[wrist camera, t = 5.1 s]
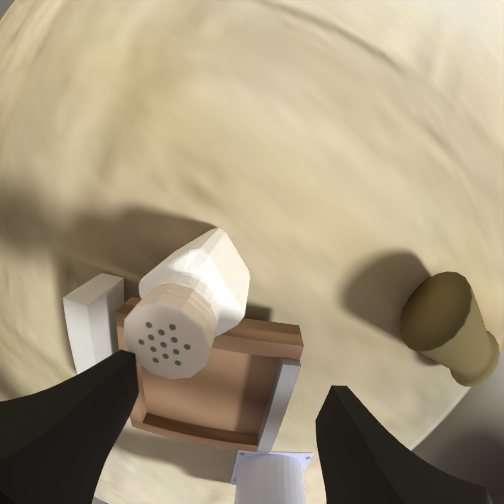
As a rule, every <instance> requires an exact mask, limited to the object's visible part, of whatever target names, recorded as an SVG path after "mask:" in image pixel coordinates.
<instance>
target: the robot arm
mask: <svg viewBox="0 0 504 504" xmlns="http://www.w3.org/2000/svg"><path fill="white" fill-rule="evenodd" d="M138 394H139V386H138V377H137V367H136V355H135V353H132V352H128V351H125V350H122V349H121V350H119V351H117V352H115V353H114V354H112V355H110V356H109V357H107V358H105V359H104V360H102V361H100V362H99V363H97V364H95V365H94V366H92V367H90V368H89V369H87V370H85V371H83V372H82V373H80V374H78V375H76V376H74V377H72V378H70V379H68V380H66V381H64V382H62V383H60V384H58V385H56V386H53V387H51V388H48V389H46V390H43V391H40V392H38V393H35V394H32V395H28V396H24V397H20V398H16V399H12V400H7V401H1V402H0V504H92V500H93V496H94V493H95V489H96V486H97V483H98V480H99V477H100V474H101V472H102V469H103V466H104V463H105V461H106V459H107V457H108V455H109V453H110V451H111V449H112V447H113V445H114V443H115V442H116V440H117V438H118V436H119V434H120V433H121V431H122V429H123V427H124V425H125V424H126V422H127V420H128V418H129V416H130V414H131V412H132V410H133V407H134V405H135V402H136V399H137V397H138ZM316 441H317V448H318V453H319V458H320V463H321V469H322V474H323V479H324V484H325V491H326V501H327V504H492V501H491V499H490V496H489V494H488V492H487V490H486V488H485V487H484V486H480V485H477V484H473V483H470V482H467V481H464V480H461V479H458V478H456V477H454V476H451V475H449V474H447V473H445V472H443V471H441V470H439V469H437V468H436V467H434V466H432V465H430V464H429V463H427V462H426V461H424V460H423V459H421V458H420V457H418V456H417V455H415V454H414V453H413V452H411V451H410V450H409V449H408V448H406V447H405V446H404V445H403V444H401V443H400V442H399V441H398V440H397V439H396V438H395V437H394V436H393V435H392V434H390V433H389V432H388V431H387V430H386V429H385V428H384V427H383V426H382V425H381V424H380V423H379V421H378V420H377V419H376V418H375V417H374V416H373V415H372V414H371V413H370V412H369V411H368V409H367V408H366V407H365V406H364V405H363V404H362V403H361V401H360V400H359V399H358V398H357V397H356V396H355V395H354V393H353V392H352V391H351V390H350V389H349V388H348V387H347V386H333V385H332V386H331V388H330V391H329V393H328V395H327V397H326V399H325V402H324V404H323V406H322V408H321V410H320V412H319V414H318V416H317V418H316ZM240 453H244V454H240ZM313 455H314V454H313V453H312V452H280V451H271V452H268V453H260V452H250V451H241V450H238V453H237V457H236V461H235V465H234V469H233V473H232V477H231V481H230V483H231V484H234V485H236V493H235V503H234V504H306V501H305V490H304V480H303V471H304V470H305V468H306V466H307V465H308V463H309V462H310V460H311V458H312V457H313ZM306 457H309V458H306ZM234 479H236V480H234Z"/></svg>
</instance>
